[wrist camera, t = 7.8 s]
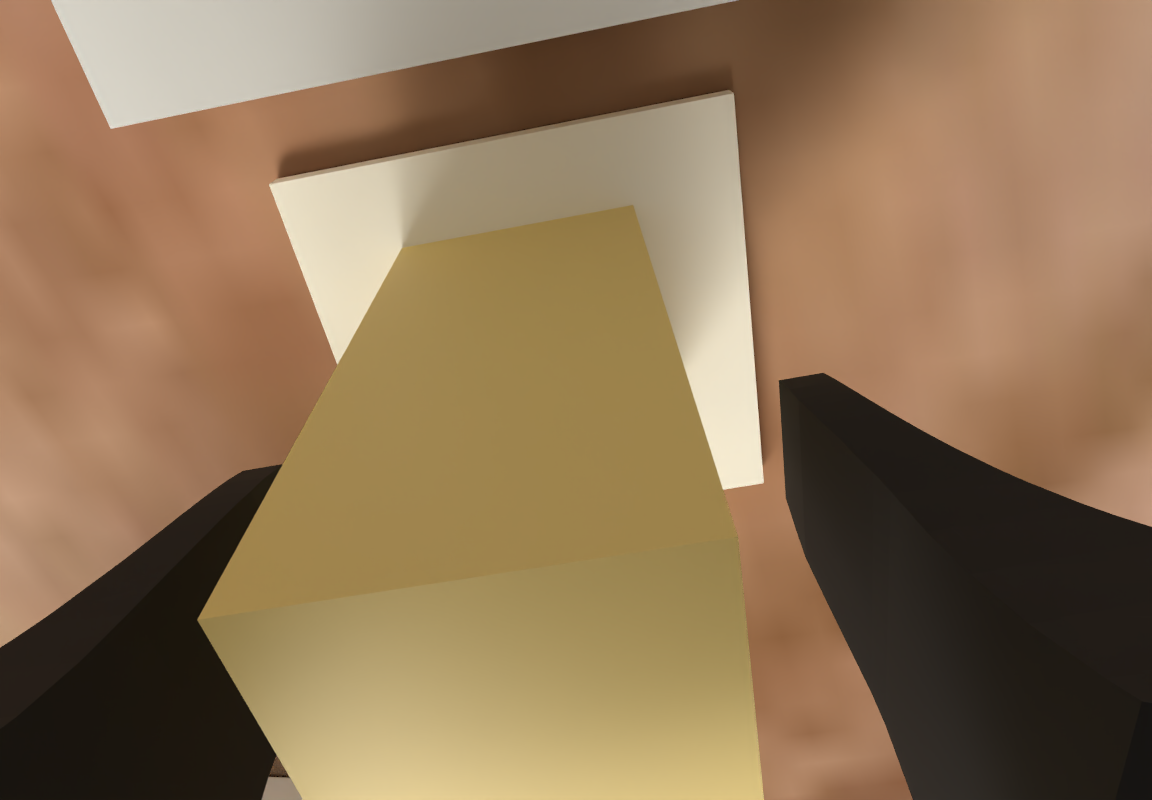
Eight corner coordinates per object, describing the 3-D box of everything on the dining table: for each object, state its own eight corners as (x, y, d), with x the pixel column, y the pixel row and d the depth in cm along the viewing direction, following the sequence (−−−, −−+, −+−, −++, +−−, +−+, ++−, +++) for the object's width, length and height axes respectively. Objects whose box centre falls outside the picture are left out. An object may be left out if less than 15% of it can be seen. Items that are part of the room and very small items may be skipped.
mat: (729, 89, 13) (734, 93, 13) (759, 472, 17) (763, 483, 17) (276, 178, 14) (269, 184, 13) (406, 529, 17) (403, 540, 17)
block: (632, 204, 13) (737, 536, 6) (662, 408, 16) (769, 857, 8) (401, 247, 14) (196, 620, 6) (460, 441, 16) (365, 908, 8)
